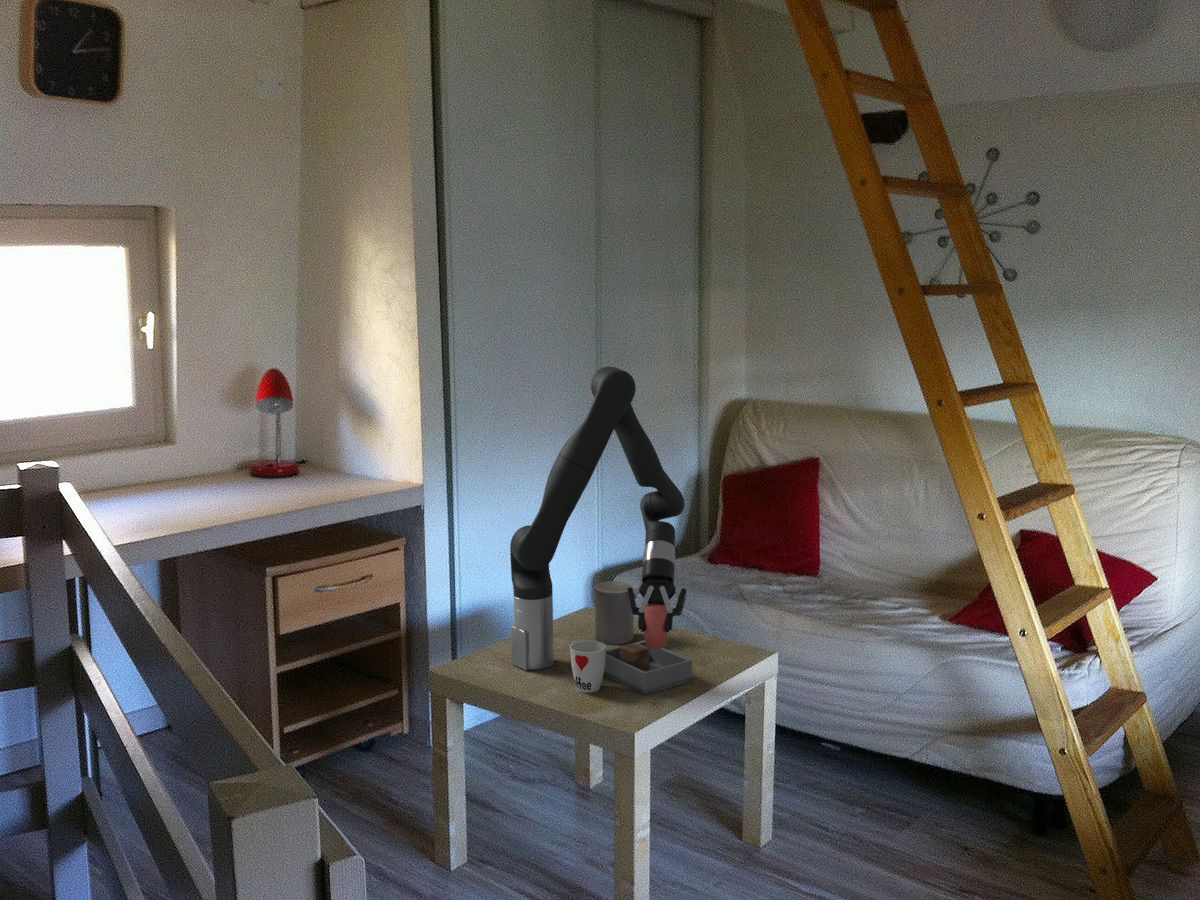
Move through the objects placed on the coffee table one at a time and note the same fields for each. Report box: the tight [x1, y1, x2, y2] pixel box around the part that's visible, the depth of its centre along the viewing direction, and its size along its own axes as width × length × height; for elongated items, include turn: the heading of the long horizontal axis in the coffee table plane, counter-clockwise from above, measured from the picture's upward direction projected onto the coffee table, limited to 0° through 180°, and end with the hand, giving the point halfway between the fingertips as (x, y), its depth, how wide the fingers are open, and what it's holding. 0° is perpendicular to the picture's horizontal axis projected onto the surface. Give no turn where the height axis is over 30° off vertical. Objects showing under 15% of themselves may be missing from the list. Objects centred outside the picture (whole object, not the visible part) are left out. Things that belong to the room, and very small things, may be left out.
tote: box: [603, 639, 693, 696], centre depth 285 cm, size 14×18×5 cm
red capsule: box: [644, 604, 668, 649], centre depth 280 cm, size 5×5×9 cm
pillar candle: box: [594, 580, 634, 645], centre depth 311 cm, size 10×10×15 cm
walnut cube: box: [618, 642, 650, 671], centre depth 288 cm, size 5×5×5 cm
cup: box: [569, 640, 607, 694], centre depth 278 cm, size 8×8×10 cm
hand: (655, 630), depth 278 cm, fingers closed on red capsule, 5 cm apart
